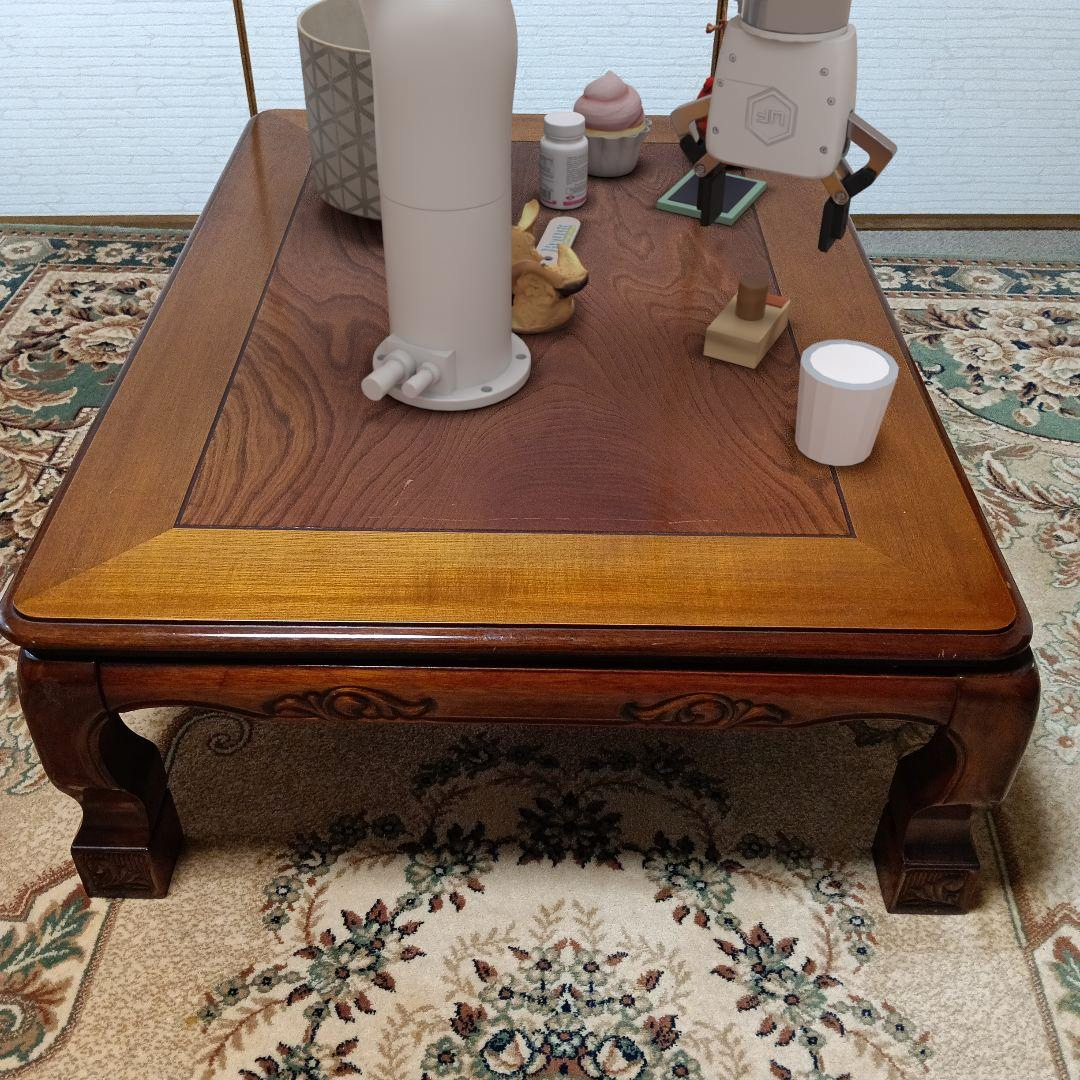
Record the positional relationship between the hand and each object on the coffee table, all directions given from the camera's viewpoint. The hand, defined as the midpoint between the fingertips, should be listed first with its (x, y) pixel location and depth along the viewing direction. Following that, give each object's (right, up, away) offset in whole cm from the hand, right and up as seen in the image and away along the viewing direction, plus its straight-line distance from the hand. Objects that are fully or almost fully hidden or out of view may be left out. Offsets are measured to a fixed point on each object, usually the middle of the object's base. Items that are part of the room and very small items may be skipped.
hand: (768, 232), depth 95 cm
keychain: (-16, +4, +19) cm, 26 cm away
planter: (-31, +9, +25) cm, 40 cm away
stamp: (-1, -7, +6) cm, 10 cm away
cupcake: (-11, +16, +34) cm, 39 cm away
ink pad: (0, +11, +28) cm, 30 cm away
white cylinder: (+4, -17, -5) cm, 18 cm away
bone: (-19, -5, +10) cm, 21 cm away
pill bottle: (-16, +10, +27) cm, 33 cm away
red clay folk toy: (+2, +17, +36) cm, 40 cm away
